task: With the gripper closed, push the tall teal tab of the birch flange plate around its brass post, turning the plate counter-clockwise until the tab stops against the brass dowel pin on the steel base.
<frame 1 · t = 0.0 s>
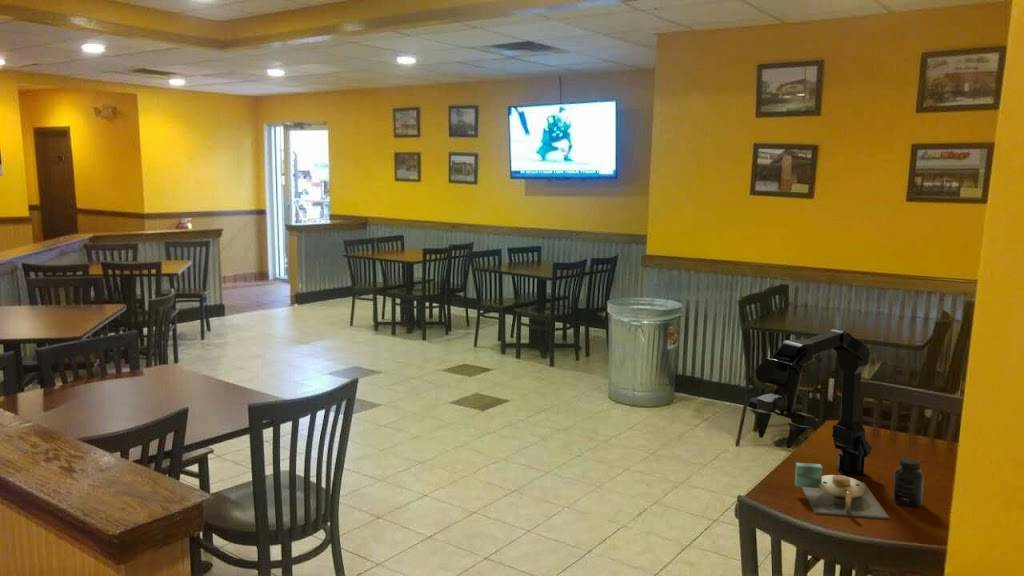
hand: (774, 442, 198), 15 cm above the table, tool pointing down, fingers open, 9 cm apart
base: (840, 498, 200), on the table
supplement bottle: (906, 503, 197), on the table
flange: (830, 476, 199), point 6 cm above the table, hinge at 0.0°
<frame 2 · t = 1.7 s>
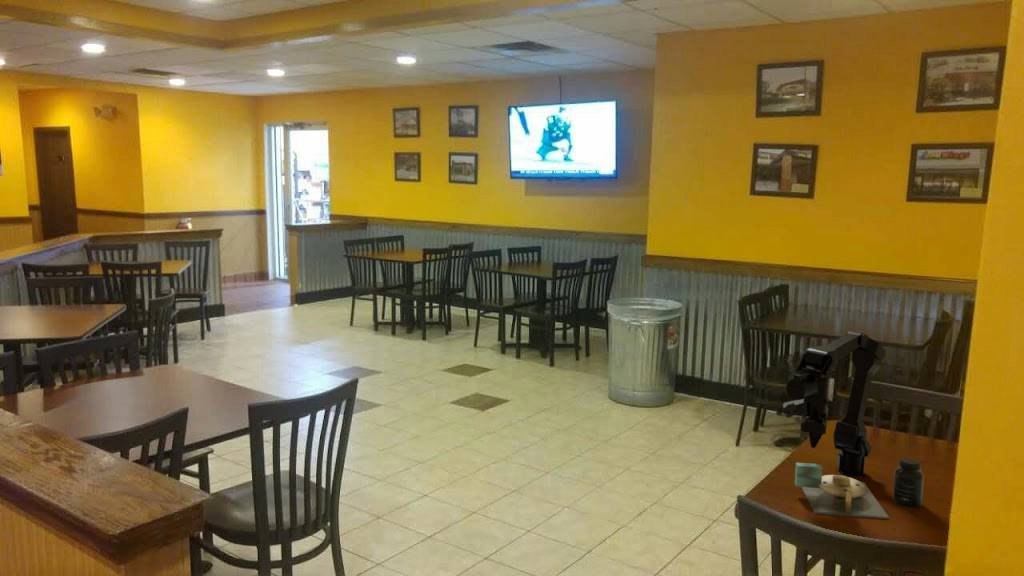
hand: (813, 447, 204), 12 cm above the table, tool pointing down, fingers closed
nothing on the table moved.
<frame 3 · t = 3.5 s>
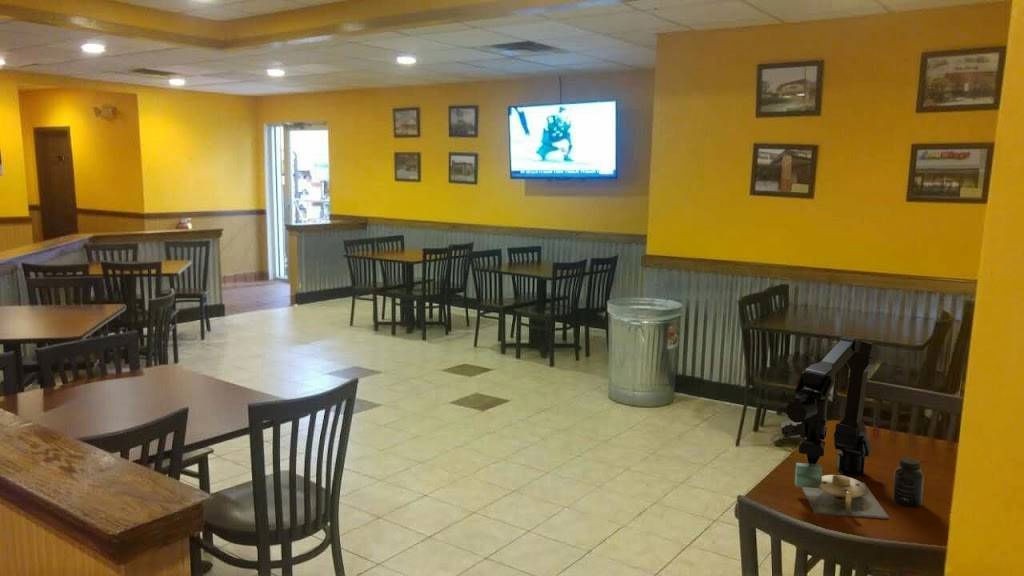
hand: (811, 468, 202), 7 cm above the table, tool pointing down, fingers closed
flange: (830, 476, 199), point 6 cm above the table, hinge at 0.4°, touching gripper
everything else where it was.
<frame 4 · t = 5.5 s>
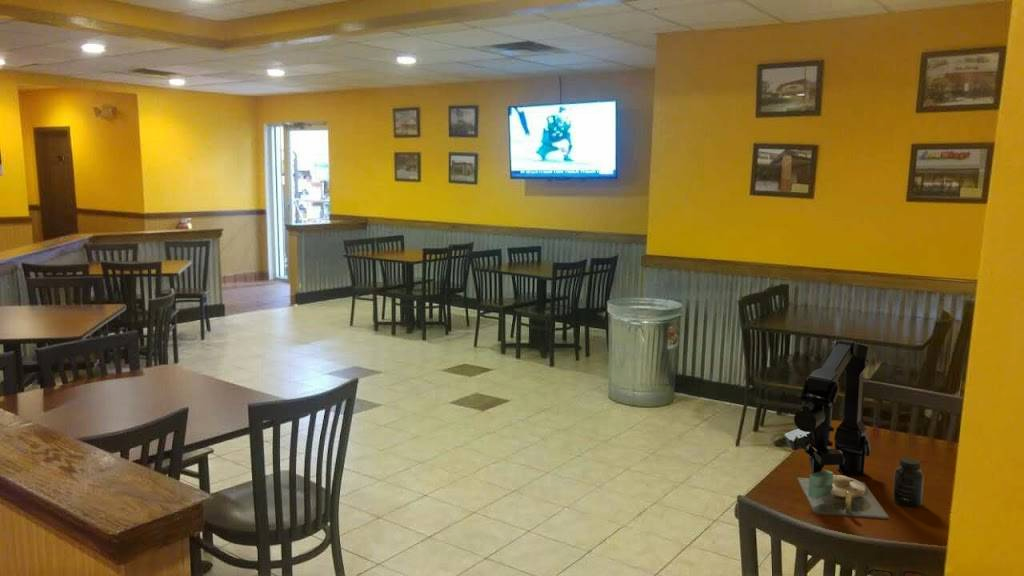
hand: (815, 475, 197), 7 cm above the table, tool pointing down, fingers closed
flange: (834, 479, 197), point 6 cm above the table, hinge at 40.0°, touching gripper
everything else where it was.
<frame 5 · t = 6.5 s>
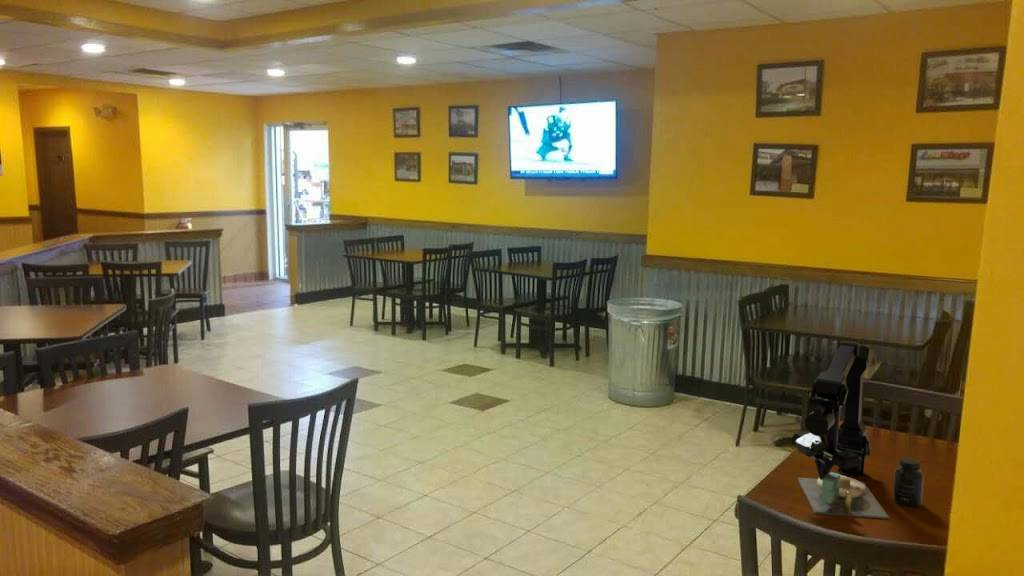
hand: (822, 479, 195), 7 cm above the table, tool pointing down, fingers closed
flange: (838, 480, 197), point 6 cm above the table, hinge at 58.4°, touching gripper
everything else where it was.
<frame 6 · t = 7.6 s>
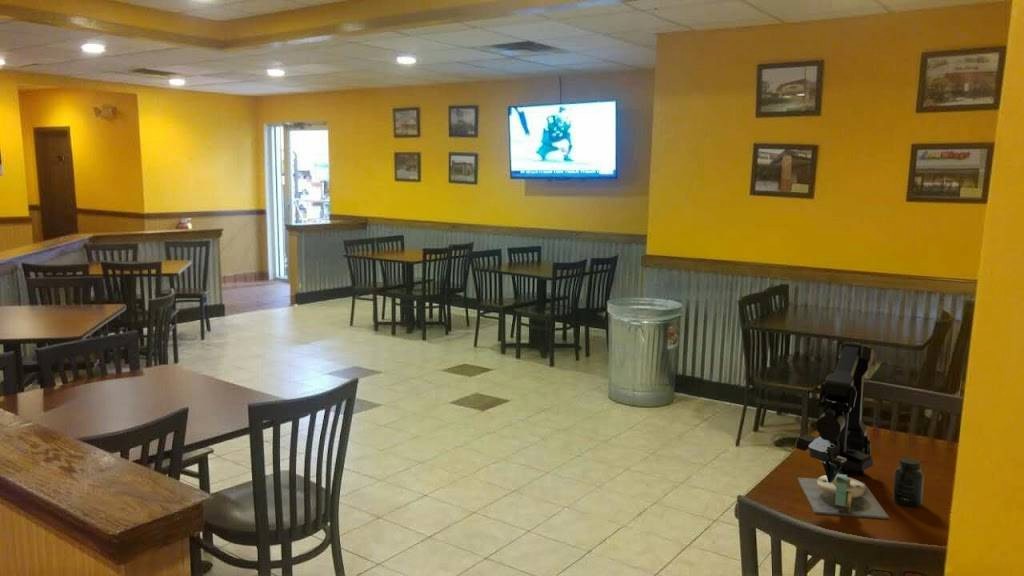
hand: (830, 482, 193), 7 cm above the table, tool pointing down, fingers closed
flange: (841, 481, 196), point 6 cm above the table, hinge at 75.2°, touching base, gripper
everything else where it was.
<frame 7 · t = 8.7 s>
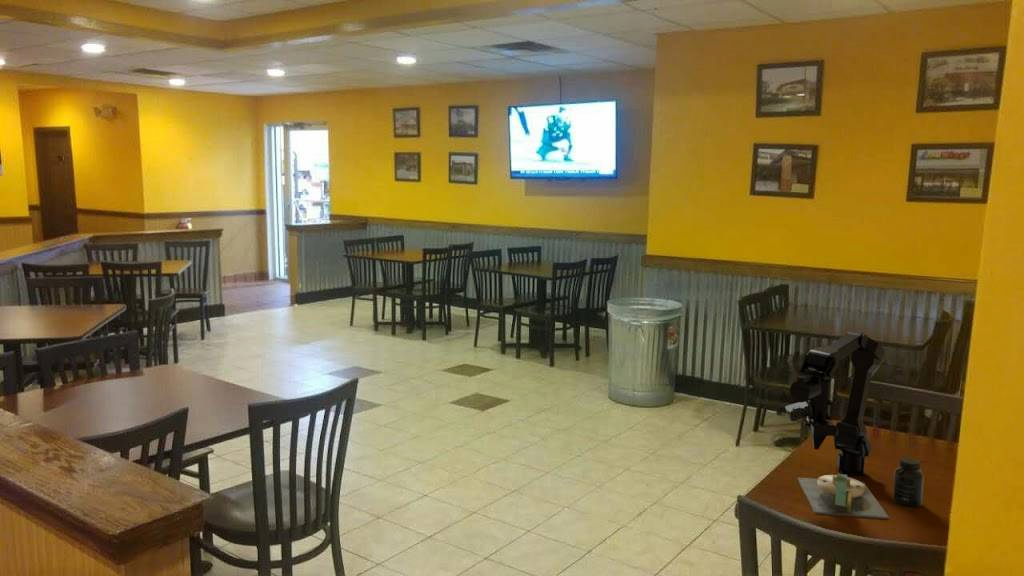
hand: (815, 448, 204), 12 cm above the table, tool pointing down, fingers closed
flange: (841, 481, 196), point 6 cm above the table, hinge at 75.2°, touching base
everything else where it was.
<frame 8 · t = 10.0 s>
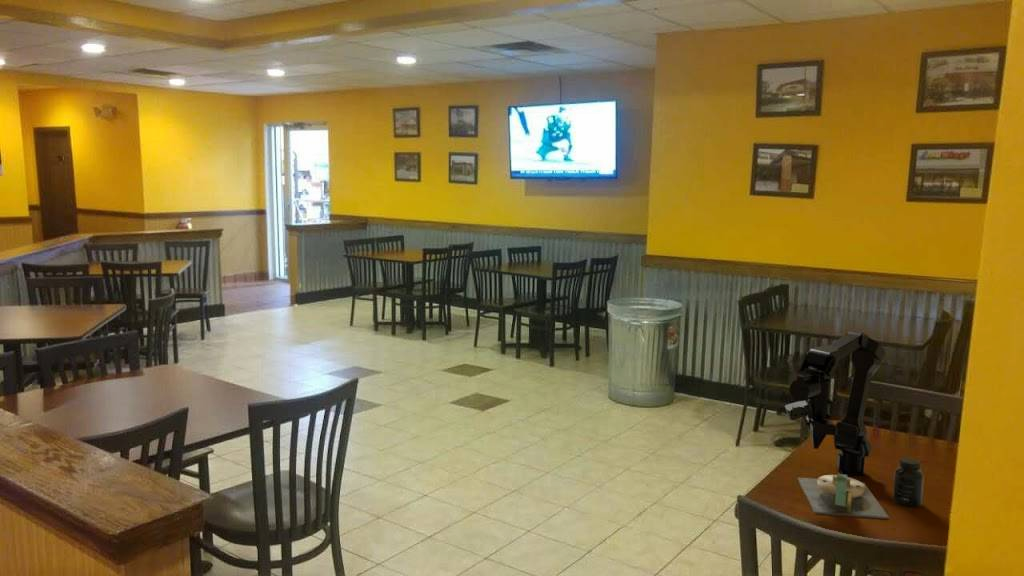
hand: (815, 448, 204), 12 cm above the table, tool pointing down, fingers closed
nothing on the table moved.
at the end: flange at +75° (first picture: +0°) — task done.
